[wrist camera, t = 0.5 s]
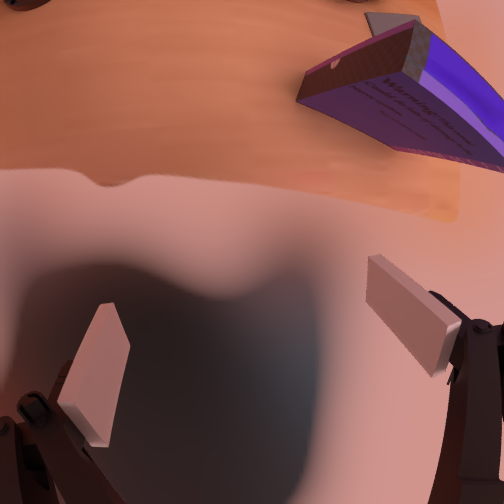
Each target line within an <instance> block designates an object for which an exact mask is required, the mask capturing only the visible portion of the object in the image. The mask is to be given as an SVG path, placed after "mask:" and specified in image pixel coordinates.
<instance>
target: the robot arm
mask: <svg viewBox="0 0 504 504" xmlns="http://www.w3.org/2000/svg"><path fill="white" fill-rule="evenodd" d="M48 1H50V0H3V2H4V3H5V4H6V5H7V6H9V7H11V8H13V9H15V10H19V11H25V10H30V9H33V8H36V7H38V6H41V5H43V4H45V3H46V2H48ZM366 302H367V303H368V305H369V306H370V307H371V308H372V309H373V310H374V311H375V312H376V314H377V315H378V316H379V317H380V318H381V319H382V320H383V321H384V323H385V324H386V325H387V326H388V327H389V328H390V329H391V330H392V332H393V333H394V334H395V335H396V336H397V338H398V339H399V340H400V341H401V342H402V343H403V344H404V345H405V347H406V348H407V349H408V350H409V352H411V354H412V355H413V356H414V357H415V359H416V360H417V361H418V362H419V363H420V365H422V367H423V368H424V369H425V371H426V372H427V373H428V374H429V375H430V377H431V378H434V377H436V376H438V375H440V374H442V373H444V372H445V371H446V368H447V365H448V363H449V362H450V363H451V364H452V365H453V366H454V367H453V369H452V372H451V374H450V377H449V379H448V382H447V385H449V383H450V381H451V384H450V394H449V403H448V411H447V419H446V425H445V431H444V437H443V443H442V448H441V453H440V458H439V462H438V467H437V471H436V475H435V479H434V483H433V487H432V490H431V494H430V497H429V501H428V504H504V481H501V480H500V479H499V466H500V456H501V436H502V418H503V422H504V323H503V324H502V325H496V326H492V325H491V324H490V323H489V322H487V321H485V320H482V319H473V320H471V319H470V318H468V317H467V316H466V315H465V314H464V313H462V312H461V311H460V310H459V309H458V308H456V307H455V306H453V304H452V303H450V302H449V301H447V300H446V299H445V298H444V297H443V296H442V295H440V294H438V293H436V292H433V291H427V290H425V289H424V288H423V287H422V286H420V285H419V284H418V283H417V282H415V281H414V280H413V279H412V278H410V277H409V276H408V275H407V274H405V273H404V272H403V271H402V270H400V269H399V268H398V267H396V266H395V265H394V264H393V263H391V262H390V261H389V260H387V259H386V258H385V257H383V256H382V255H380V254H379V255H374V256H369V257H368V271H367V290H366ZM129 349H130V344H129V341H128V339H127V336H126V334H125V332H124V329H123V327H122V324H121V322H120V319H119V316H118V314H117V311H116V309H115V306H114V303H107V304H101V305H100V306H99V308H98V310H97V312H96V314H95V316H94V318H93V320H92V322H91V324H90V326H89V328H88V330H87V332H86V335H85V337H84V339H83V341H82V343H81V346H80V348H79V350H78V352H77V355H76V357H75V359H74V360H68V361H67V362H66V363H65V365H64V366H63V367H62V368H61V370H60V372H59V374H58V378H57V379H56V381H55V385H54V386H53V388H52V390H51V393H50V395H49V398H48V400H46V398H45V397H44V395H43V394H42V393H41V392H38V391H31V392H29V393H27V394H25V395H24V396H23V397H21V399H20V400H19V401H18V405H17V411H18V413H19V414H20V415H21V416H22V417H23V419H24V420H25V421H26V422H23V423H18V424H16V423H15V421H14V420H13V419H12V418H11V417H9V416H2V417H0V504H59V500H58V497H57V493H56V489H55V485H54V482H55V484H56V486H57V488H58V490H59V491H60V493H61V495H62V497H63V498H64V500H65V502H66V504H127V503H126V502H125V501H124V500H123V498H122V497H121V496H120V495H119V493H118V492H117V491H116V490H115V489H114V487H113V486H112V485H111V483H110V482H109V481H108V479H107V478H106V477H105V475H104V474H103V473H102V471H101V470H100V468H99V467H98V466H97V464H96V463H95V461H94V460H93V458H92V457H91V455H90V454H89V452H88V451H87V450H86V449H85V447H84V446H83V445H84V440H85V439H86V440H87V441H88V442H89V443H90V445H91V446H94V447H108V446H109V440H110V435H111V429H112V424H113V418H114V414H115V409H116V404H117V399H118V395H119V391H120V386H121V382H122V378H123V373H124V369H125V365H126V361H127V357H128V353H129ZM53 480H54V481H53Z"/></svg>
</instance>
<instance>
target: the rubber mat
mask: <svg viewBox="0 0 504 504" xmlns="http://www.w3.org/2000/svg"><path fill="white" fill-rule="evenodd" d="M365 16H366V19H367V21H368V24H369V27H370V30H371V33H372V36H373V37H374V36H377V35H379V34H381V33H383V32H385V31H388V30H390V29H392V28H395V27H397V26H399V25H402V24H404V23H407V22H409V21H412V20H414V19H416V20H417V21H418V22H420V23H421V20H420V17H419V16H416V15H406V14H394V13H375V12H366V13H365ZM421 24H422V23H421Z"/></svg>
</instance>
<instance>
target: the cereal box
mask: <svg viewBox="0 0 504 504" xmlns="http://www.w3.org/2000/svg"><path fill="white" fill-rule="evenodd" d="M296 102H298V103H300V104H303V105H305V106H308V107H310V108H312V109H315V110H317V111H319V112H321V113H324V114H326V115H328V116H330V117H332V118H334V119H337V120H339V121H341V122H343V123H345V124H347V125H349V126H351V127H353V128H355V129H357V130H359V131H361V132H363V133H365V134H367V135H369V136H371V137H373V138H375V139H376V140H378V141H380V142H382V143H384V144H386V145H387V146H389V147H391V148H393V149H395V150H396V151H402V152H408V153H414V154H420V155H426V156H431V157H436V158H441V159H446V160H451V161H456V162H460V163H465V164H469V165H473V166H477V167H482V168H486V169H489V170H493V171H498V172H501V173H504V100H503V98H502V97H501V96H500V95H499V94H498V93H497V92H496V91H495V90H494V88H493V87H492V86H491V85H490V84H489V83H488V82H487V81H486V80H485V79H484V78H483V77H482V76H481V75H480V74H479V73H478V72H477V71H476V70H475V69H474V68H473V67H472V66H471V65H470V64H469V63H468V62H466V61H465V59H463V58H462V57H461V56H460V55H459V54H458V53H457V52H456V51H455V50H453V49H452V48H451V47H450V46H449V45H448V44H446V43H445V42H444V41H443V40H442V39H440V38H439V37H438V36H437V35H435V34H434V33H433V32H432V31H430V30H429V29H428V28H426V27H425V26H424V25H423V24H421V23H420V22H418V21H417V20H416V19H414V20H412V21H409V22H407V23H404V24H402V25H399V26H397V27H395V28H392V29H390V30H388V31H385V32H383V33H381V34H379V35H377V36H374V37H372V38H370V39H368V40H366V41H364V42H362V43H360V44H357V45H355V46H353V47H351V48H349V49H347V50H345V51H343V52H341V53H340V54H338V55H336V56H334V57H332V58H330V59H328V60H326V61H324V62H323V63H321V64H319V65H317V66H315V67H313V68H312V69H310V70H308V71H306V74H305V77H304V80H303V82H302V85H301V88H300V91H299V93H298V96H297V99H296Z"/></svg>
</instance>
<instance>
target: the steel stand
mask: <svg viewBox="0 0 504 504" xmlns="http://www.w3.org/2000/svg"><path fill="white" fill-rule="evenodd" d="M348 1H351V2H356V3H361V2H365V1H367V0H348Z"/></svg>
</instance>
